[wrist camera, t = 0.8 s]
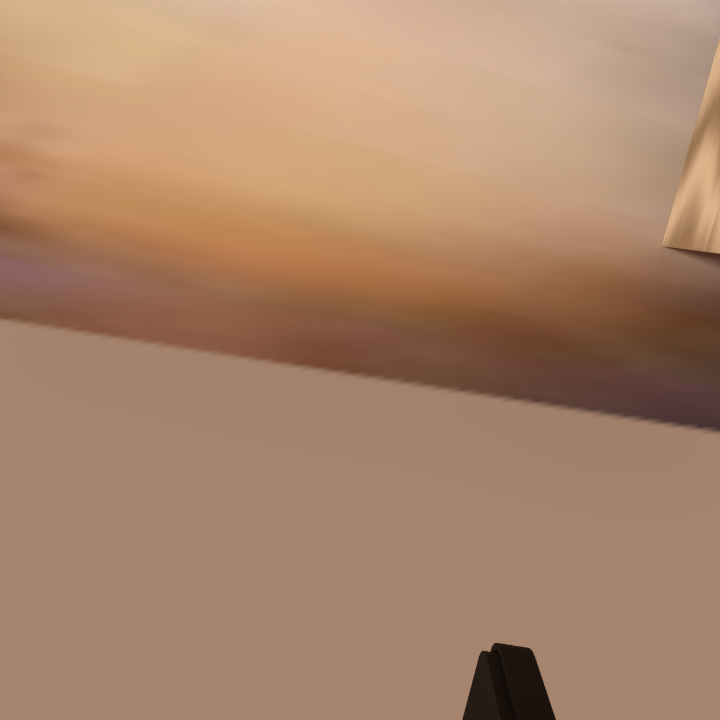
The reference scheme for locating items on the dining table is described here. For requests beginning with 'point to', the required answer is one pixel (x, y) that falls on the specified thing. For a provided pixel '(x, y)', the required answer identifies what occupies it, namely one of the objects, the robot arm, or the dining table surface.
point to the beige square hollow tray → (700, 179)
